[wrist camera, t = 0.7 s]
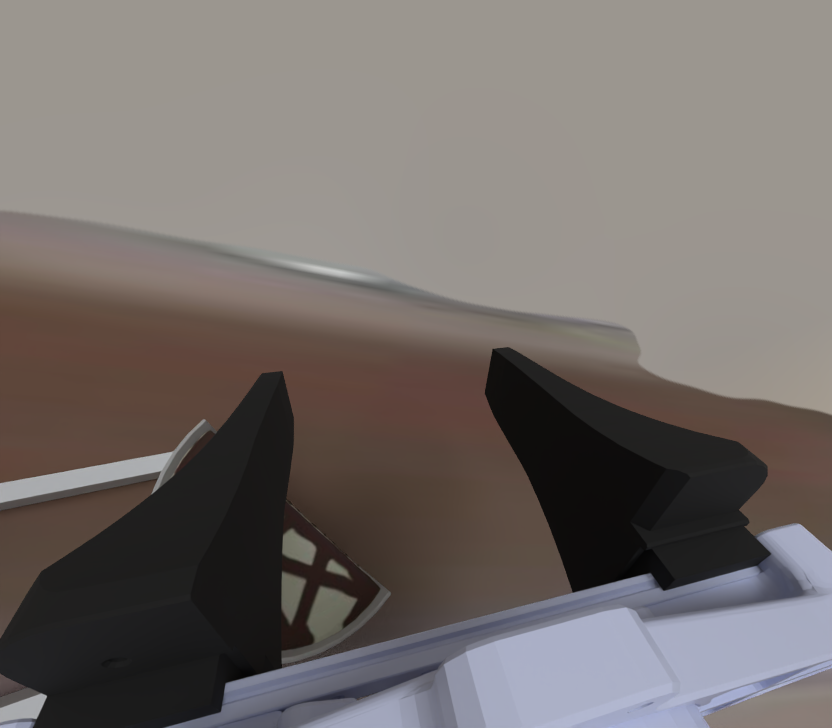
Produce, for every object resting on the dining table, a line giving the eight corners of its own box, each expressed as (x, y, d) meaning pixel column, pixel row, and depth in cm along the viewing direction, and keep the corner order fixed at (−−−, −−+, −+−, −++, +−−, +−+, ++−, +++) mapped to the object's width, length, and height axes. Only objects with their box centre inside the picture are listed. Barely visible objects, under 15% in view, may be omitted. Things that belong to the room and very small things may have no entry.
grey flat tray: (234, 666, 20) (218, 707, 16) (-216, 843, 14) (-440, 987, 10) (216, 429, 25) (200, 411, 20) (-136, 489, 19) (-267, 482, 14)
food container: (146, 524, 22) (45, 530, 13) (231, 448, 25) (196, 411, 16) (293, 663, 21) (292, 767, 13) (361, 569, 24) (399, 600, 16)
